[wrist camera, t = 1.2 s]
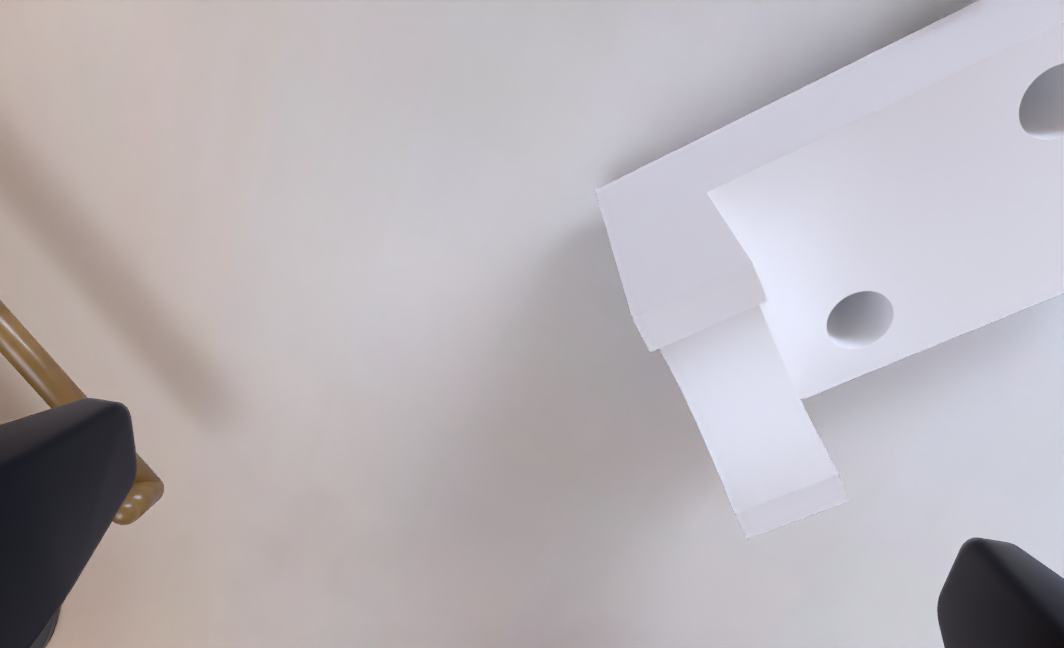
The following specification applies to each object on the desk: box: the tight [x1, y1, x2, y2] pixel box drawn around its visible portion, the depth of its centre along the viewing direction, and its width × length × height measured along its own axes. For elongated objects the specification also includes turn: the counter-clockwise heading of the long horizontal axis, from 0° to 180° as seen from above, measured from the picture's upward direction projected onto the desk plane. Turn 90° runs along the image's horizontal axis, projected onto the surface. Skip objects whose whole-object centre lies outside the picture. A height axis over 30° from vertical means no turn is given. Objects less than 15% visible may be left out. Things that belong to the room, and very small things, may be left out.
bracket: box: [595, 0, 1064, 539], centre depth 19 cm, size 13×7×8 cm, turn 117°
